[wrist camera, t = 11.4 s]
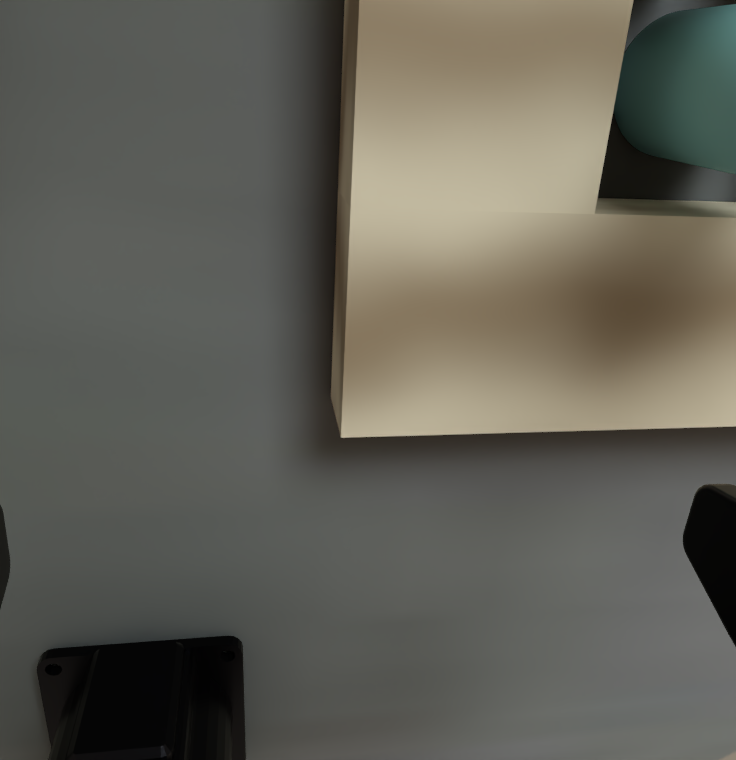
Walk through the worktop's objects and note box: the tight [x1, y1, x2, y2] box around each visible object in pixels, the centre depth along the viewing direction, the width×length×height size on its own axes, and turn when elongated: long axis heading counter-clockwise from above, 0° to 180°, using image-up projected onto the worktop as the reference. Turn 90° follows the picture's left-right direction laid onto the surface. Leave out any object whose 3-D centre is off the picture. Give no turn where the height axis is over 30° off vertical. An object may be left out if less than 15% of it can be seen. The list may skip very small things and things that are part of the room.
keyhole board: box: [331, 0, 736, 438], centre depth 17 cm, size 18×18×2 cm
